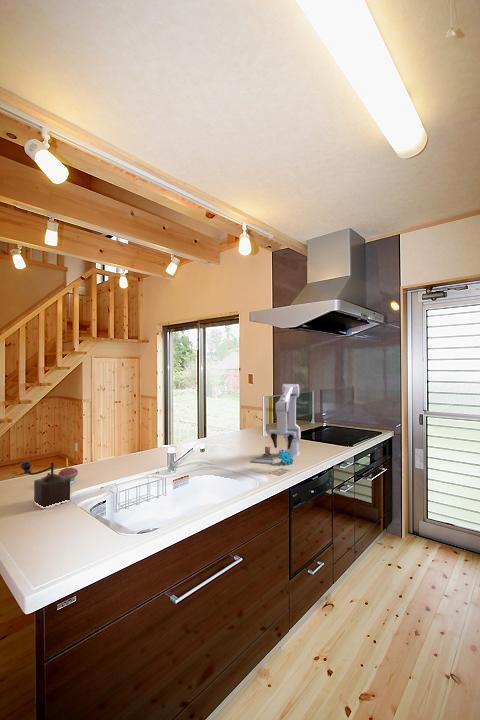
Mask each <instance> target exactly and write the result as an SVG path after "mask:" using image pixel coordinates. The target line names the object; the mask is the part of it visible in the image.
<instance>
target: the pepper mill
mask: <svg viewBox="0 0 480 720" xmlns="http://www.w3.org/2000/svg"><path fill="white" fill-rule="evenodd" d="M31 467H32V462H31V461H30V460H25V461H22V462H21V463H20V469H21V470H23V474H27V475H31V476H34V475H39V474H42V473H45V472H46V471H49V470H50V472H47V475H46V476H43V477H41V478H39V479H35V480H33V481H34V482H33V487H34V488H33V502H34V501H35V502H36V503H38V504H39V505H41V506H43V507H46V506H49V505H52V504H55V503H59V502H62V501H65V500H70V501H71V484H70V479H69V478H67V477H64V476H62V475H60V474H59V473H58V474H59V475H58V474H56V473H55V472H54V468H55V462H54V461H51V462H50V466H49V467H47V468H44V469H42V470H39V471H36V472H32V471H33V470H32V469H31Z"/></svg>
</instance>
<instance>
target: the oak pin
mask: <svg viewBox="0 0 480 720" xmlns="http://www.w3.org/2000/svg"><path fill="white" fill-rule="evenodd" d="M270 453H271V447H270V446H264V454H265V455H266V456H269V455H270Z"/></svg>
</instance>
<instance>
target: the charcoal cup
mask: <svg viewBox="0 0 480 720" xmlns="http://www.w3.org/2000/svg"><path fill="white" fill-rule="evenodd" d="M261 458H274V454H273V453H271V452H270V455H269V456H266V455H265V453H262V454H261Z"/></svg>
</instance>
